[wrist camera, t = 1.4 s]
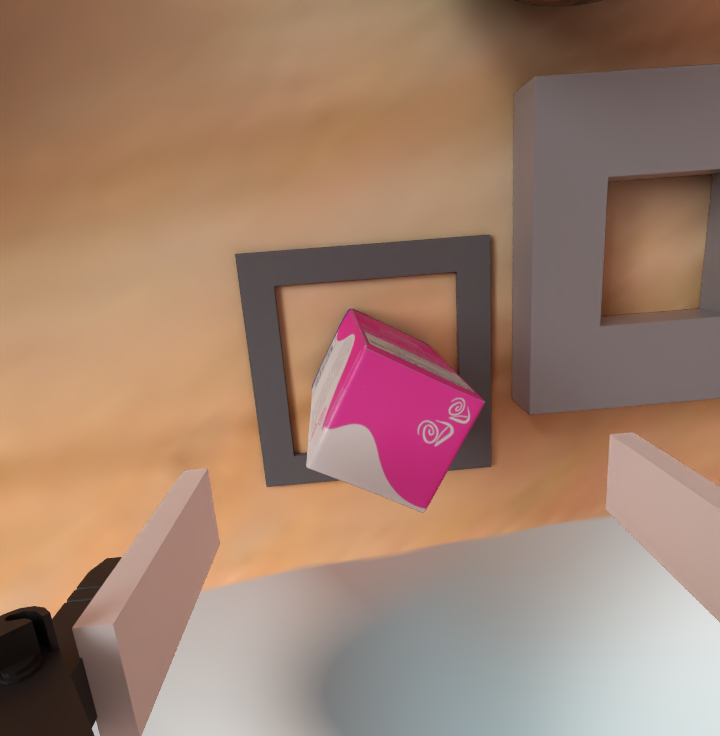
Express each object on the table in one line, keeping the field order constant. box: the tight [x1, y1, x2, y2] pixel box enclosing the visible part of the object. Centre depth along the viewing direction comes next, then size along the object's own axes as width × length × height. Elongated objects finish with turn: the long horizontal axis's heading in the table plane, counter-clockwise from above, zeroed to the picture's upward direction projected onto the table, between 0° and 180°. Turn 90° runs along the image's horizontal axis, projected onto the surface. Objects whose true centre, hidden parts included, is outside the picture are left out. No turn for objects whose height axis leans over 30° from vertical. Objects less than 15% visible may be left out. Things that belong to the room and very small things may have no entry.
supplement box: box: [306, 309, 485, 513], centre depth 25 cm, size 6×6×12 cm
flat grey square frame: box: [235, 235, 491, 487], centre depth 30 cm, size 15×15×1 cm
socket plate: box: [512, 64, 720, 415], centre depth 28 cm, size 18×16×3 cm
